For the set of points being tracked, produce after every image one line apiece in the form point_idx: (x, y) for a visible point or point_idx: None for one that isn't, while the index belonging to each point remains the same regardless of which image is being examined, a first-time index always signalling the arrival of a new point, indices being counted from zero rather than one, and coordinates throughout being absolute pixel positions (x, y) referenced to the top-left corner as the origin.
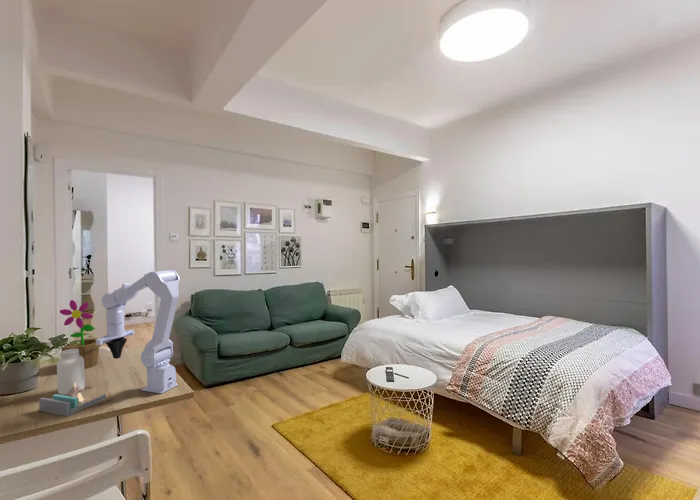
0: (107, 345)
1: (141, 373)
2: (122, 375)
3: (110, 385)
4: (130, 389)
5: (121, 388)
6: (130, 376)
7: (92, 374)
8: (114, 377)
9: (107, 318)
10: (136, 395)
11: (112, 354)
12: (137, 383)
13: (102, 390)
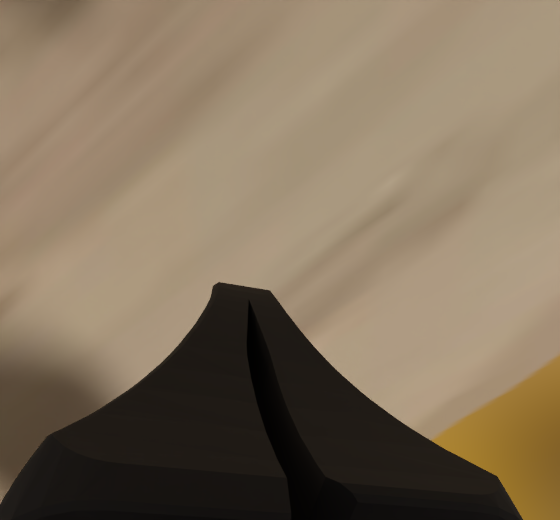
0: (105, 405)
1: (424, 266)
2: (388, 123)
3: (148, 186)
4: (108, 389)
5: (110, 319)
6: (359, 218)
7: None
8: (337, 75)
9: None
10: None
11: (207, 309)
12: None
13: (36, 197)
